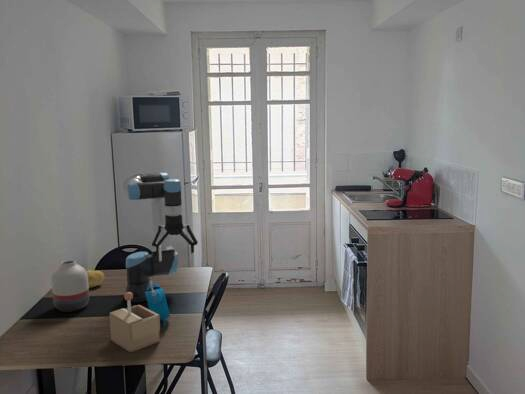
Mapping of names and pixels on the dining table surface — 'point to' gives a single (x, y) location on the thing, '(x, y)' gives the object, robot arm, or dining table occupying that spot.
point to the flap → (126, 311)
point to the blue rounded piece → (157, 301)
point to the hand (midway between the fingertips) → (175, 260)
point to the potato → (94, 278)
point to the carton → (136, 330)
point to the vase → (70, 287)
